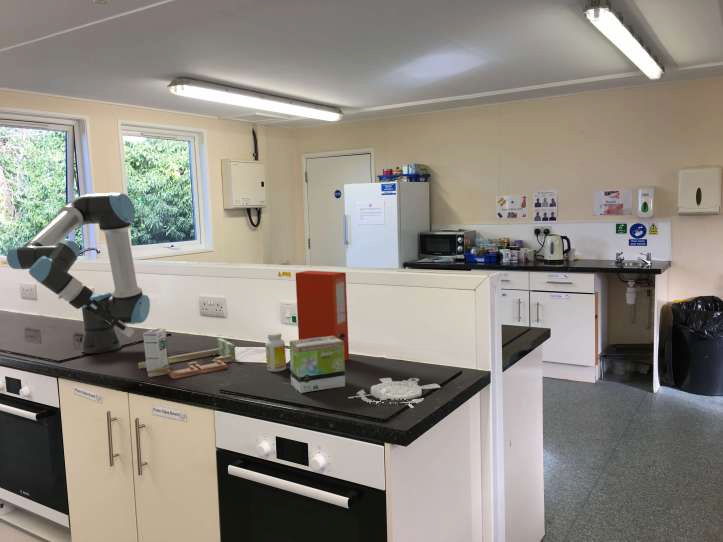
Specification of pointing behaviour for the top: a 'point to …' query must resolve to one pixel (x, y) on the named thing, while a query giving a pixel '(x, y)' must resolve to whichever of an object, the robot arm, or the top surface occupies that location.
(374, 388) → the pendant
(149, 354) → the syrup box
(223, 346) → the channel
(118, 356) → the top surface
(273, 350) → the supplement bottle
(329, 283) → the file binder
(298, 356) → the tea box
